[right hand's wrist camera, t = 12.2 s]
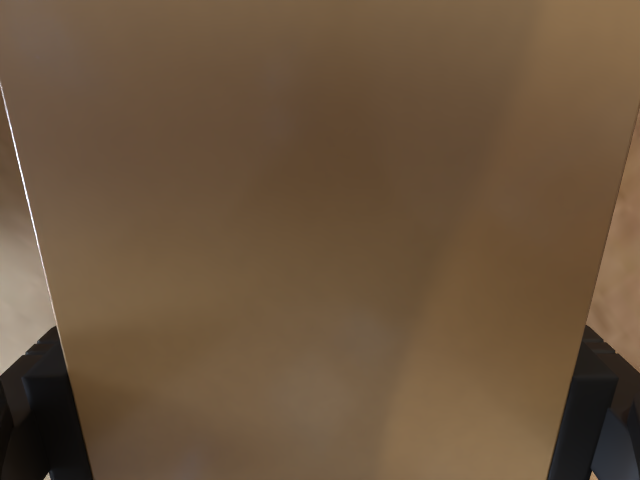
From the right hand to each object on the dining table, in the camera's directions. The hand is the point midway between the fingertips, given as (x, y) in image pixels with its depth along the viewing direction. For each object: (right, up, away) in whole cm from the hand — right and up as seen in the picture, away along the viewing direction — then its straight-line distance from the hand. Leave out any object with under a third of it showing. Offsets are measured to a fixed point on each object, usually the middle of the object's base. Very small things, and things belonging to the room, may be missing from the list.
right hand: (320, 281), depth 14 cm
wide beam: (0, -18, +7) cm, 19 cm away
